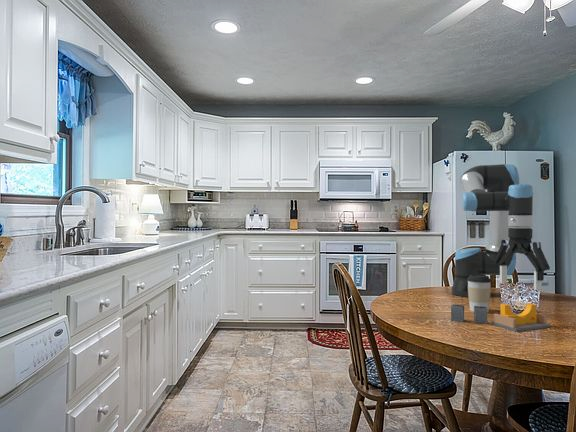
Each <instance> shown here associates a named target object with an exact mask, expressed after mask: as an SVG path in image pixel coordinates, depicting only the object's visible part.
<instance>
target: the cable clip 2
mask: <svg viewBox="0 0 576 432" xmlns="http://www.w3.org/2000/svg"><path fill="white" fill-rule="evenodd" d="M473 313H474V314H473V321H474V323H475V324H480V325H481V324H485V325H488V312H487V308H486V307H482V306H474V312H473Z"/></svg>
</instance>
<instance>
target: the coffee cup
mask: <svg viewBox="0 0 576 432" xmlns="http://www.w3.org/2000/svg"><path fill="white" fill-rule="evenodd" d="M467 280H468V296H469V297H468V303H469V311H471V312H473V313H474V306H482V307H486V308H487V313H489V308H490V300H491V289H492V288H491V284H492V283H491V282H492V279H491V278H490V277H489V276H488V275H485V274H475V275H470V277H468V278H467Z"/></svg>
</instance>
